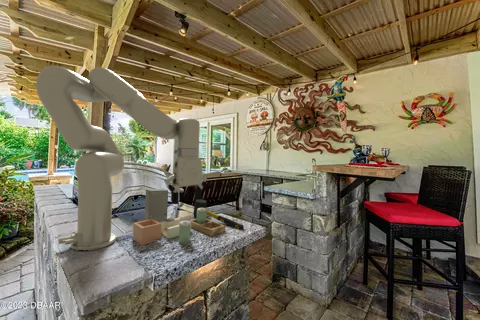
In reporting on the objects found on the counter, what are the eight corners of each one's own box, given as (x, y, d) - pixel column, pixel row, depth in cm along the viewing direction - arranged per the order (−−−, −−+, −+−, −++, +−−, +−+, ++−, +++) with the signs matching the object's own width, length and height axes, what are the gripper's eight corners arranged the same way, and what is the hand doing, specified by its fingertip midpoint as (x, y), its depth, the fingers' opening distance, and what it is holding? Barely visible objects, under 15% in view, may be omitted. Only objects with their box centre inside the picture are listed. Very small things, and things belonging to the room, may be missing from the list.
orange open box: (141, 245, 70) (142, 228, 70) (132, 239, 74) (133, 222, 74) (160, 239, 75) (161, 223, 75) (151, 234, 80) (152, 218, 80)
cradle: (168, 240, 74) (168, 227, 74) (156, 233, 81) (156, 221, 80) (190, 233, 82) (191, 221, 82) (178, 227, 88) (178, 216, 88)
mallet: (246, 229, 90) (247, 208, 90) (238, 233, 85) (239, 211, 85) (199, 216, 106) (200, 198, 106) (190, 218, 101) (191, 199, 101)
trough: (210, 237, 79) (211, 230, 79) (187, 227, 89) (187, 220, 89) (225, 232, 85) (225, 225, 85) (202, 223, 95) (202, 217, 95)
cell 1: (182, 246, 70) (183, 224, 70) (176, 243, 73) (177, 221, 73) (192, 243, 73) (193, 221, 73) (185, 239, 76) (186, 219, 76)
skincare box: (148, 228, 85) (149, 191, 85) (143, 223, 91) (144, 188, 90) (168, 224, 91) (169, 189, 91) (162, 220, 96) (163, 187, 96)
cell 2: (200, 228, 86) (201, 209, 86) (194, 225, 89) (195, 208, 89) (207, 226, 89) (208, 208, 89) (201, 223, 92) (202, 206, 92)
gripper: (172, 153, 63) (170, 207, 64) (213, 154, 77) (211, 199, 77) (159, 152, 68) (158, 203, 69) (200, 154, 81) (199, 196, 82)
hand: (186, 201), depth 73 cm, fingers open, 9 cm apart
